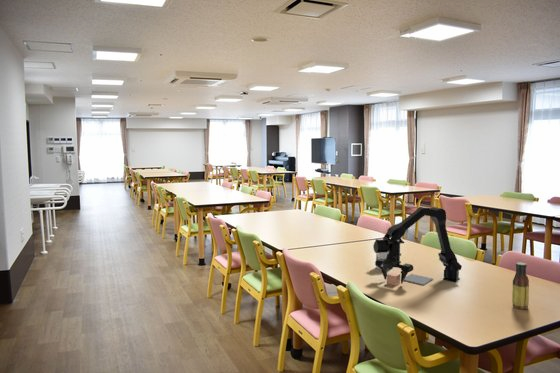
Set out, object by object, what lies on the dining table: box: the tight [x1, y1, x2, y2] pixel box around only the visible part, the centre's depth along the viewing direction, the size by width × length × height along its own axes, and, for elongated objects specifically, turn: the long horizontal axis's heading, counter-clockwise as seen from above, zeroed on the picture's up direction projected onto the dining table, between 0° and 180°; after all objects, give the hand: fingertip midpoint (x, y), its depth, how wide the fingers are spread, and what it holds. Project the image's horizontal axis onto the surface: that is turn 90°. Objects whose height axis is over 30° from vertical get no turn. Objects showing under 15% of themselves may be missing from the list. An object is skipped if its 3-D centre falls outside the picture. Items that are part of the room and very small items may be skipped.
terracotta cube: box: [386, 271, 401, 287], centre depth 212 cm, size 5×5×5 cm
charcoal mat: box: [403, 273, 434, 286], centre depth 217 cm, size 12×12×1 cm
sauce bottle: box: [511, 261, 530, 310], centre depth 179 cm, size 7×6×20 cm
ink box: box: [375, 251, 394, 271], centre depth 237 cm, size 9×5×12 cm, turn 105°
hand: (393, 281), depth 212 cm, fingers open, 9 cm apart
